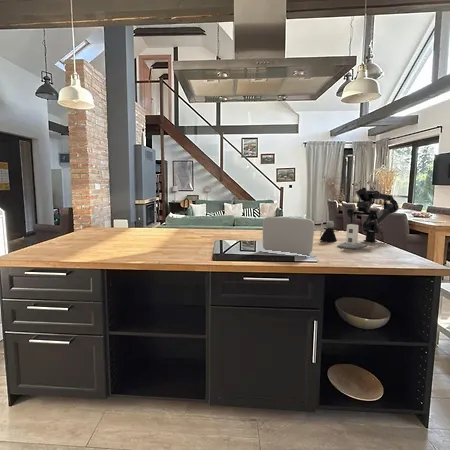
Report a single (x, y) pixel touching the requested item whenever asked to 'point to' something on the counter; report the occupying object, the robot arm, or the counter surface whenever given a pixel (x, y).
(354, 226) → the cream rectangular prism
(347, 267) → the counter surface
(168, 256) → the counter surface
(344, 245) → the bracket plate
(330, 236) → the toy
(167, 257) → the counter surface
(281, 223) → the wireless router
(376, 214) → the robot arm
